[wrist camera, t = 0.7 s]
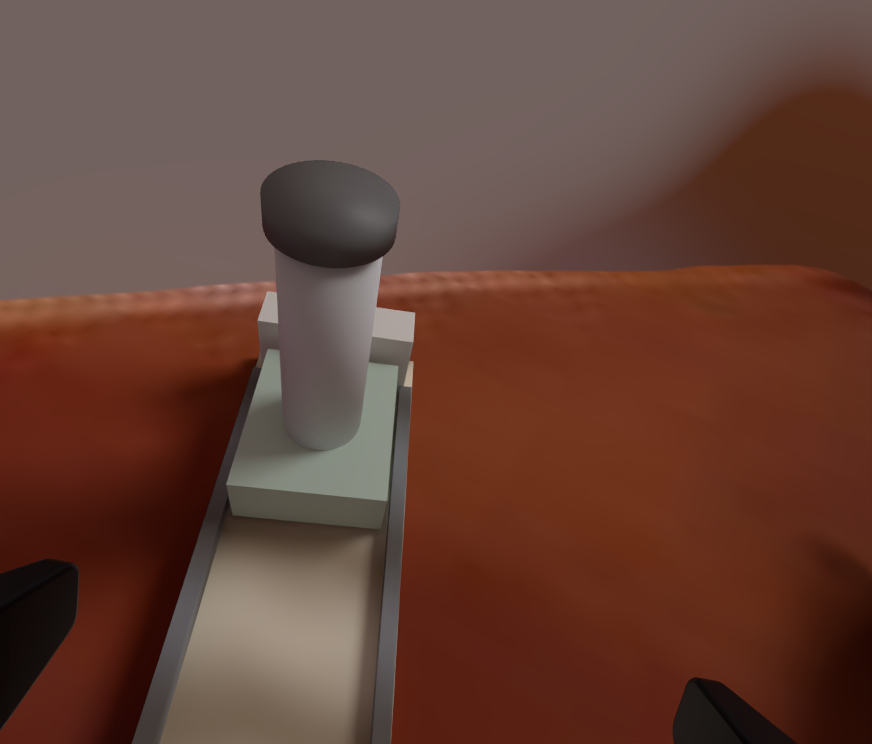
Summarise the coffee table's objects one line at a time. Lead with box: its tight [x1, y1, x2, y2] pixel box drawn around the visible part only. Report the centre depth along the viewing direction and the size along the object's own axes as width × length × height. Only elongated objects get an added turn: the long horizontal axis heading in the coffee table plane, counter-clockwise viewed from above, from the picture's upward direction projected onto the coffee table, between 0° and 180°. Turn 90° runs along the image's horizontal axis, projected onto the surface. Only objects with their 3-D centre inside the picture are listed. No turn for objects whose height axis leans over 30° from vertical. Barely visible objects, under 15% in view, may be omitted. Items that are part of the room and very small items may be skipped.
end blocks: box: [258, 292, 415, 396], centre depth 20 cm, size 23×7×4 cm, turn 179°
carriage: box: [226, 160, 400, 529], centre depth 20 cm, size 7×6×13 cm
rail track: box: [132, 354, 413, 744], centre depth 22 cm, size 23×8×2 cm, turn 179°
